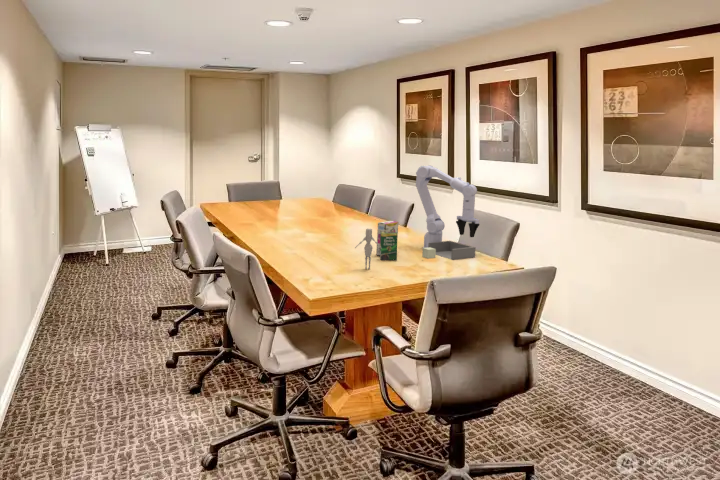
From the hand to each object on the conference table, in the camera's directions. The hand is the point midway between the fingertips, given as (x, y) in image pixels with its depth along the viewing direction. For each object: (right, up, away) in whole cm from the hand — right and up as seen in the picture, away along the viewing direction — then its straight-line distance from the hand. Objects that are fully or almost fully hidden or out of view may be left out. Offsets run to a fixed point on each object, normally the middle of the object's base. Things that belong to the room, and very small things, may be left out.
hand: (466, 235), depth 281 cm
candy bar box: (-41, -10, -5) cm, 42 cm away
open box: (-9, -10, -4) cm, 14 cm away
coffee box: (-40, -12, -17) cm, 45 cm away
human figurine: (-50, -15, -37) cm, 64 cm away
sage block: (-21, -11, -11) cm, 26 cm away
